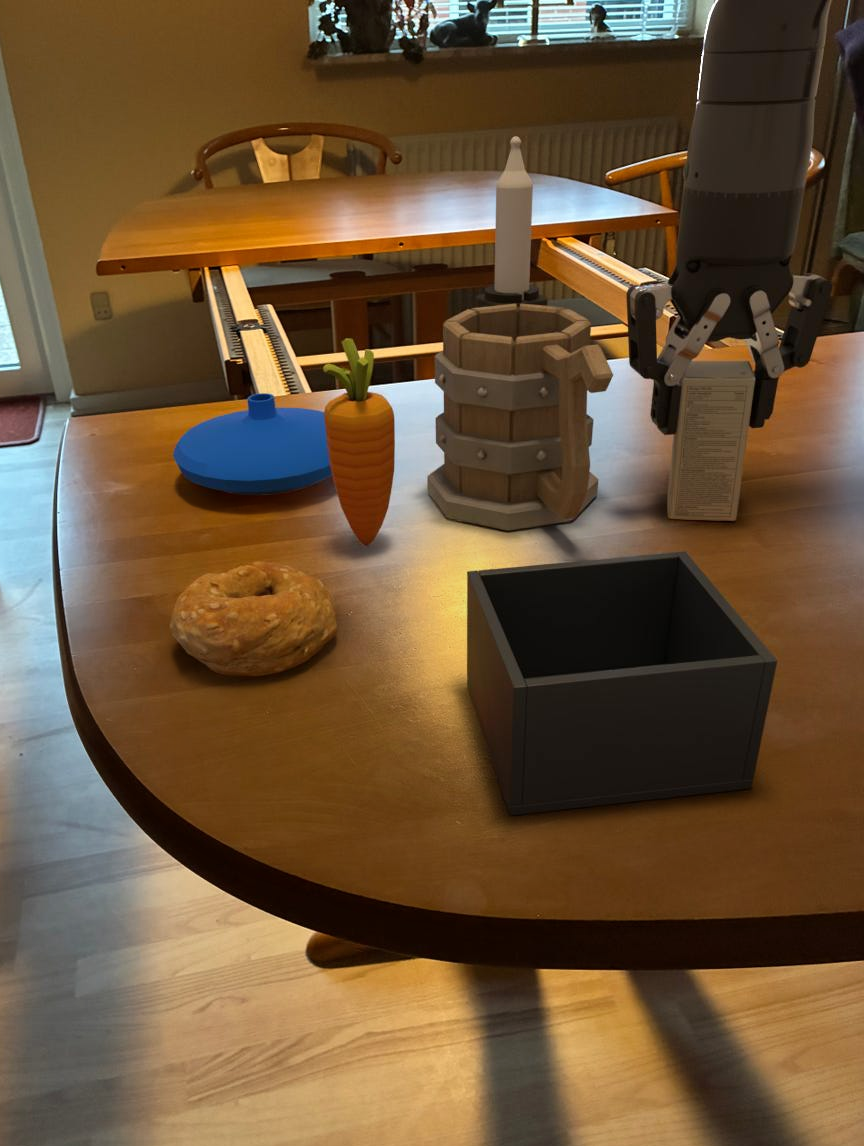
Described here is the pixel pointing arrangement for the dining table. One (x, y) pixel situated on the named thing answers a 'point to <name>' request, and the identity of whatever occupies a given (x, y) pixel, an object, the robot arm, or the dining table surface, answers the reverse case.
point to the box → (710, 440)
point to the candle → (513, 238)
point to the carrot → (360, 445)
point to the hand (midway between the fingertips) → (709, 427)
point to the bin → (613, 682)
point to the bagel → (254, 619)
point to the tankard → (516, 416)
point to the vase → (256, 449)
